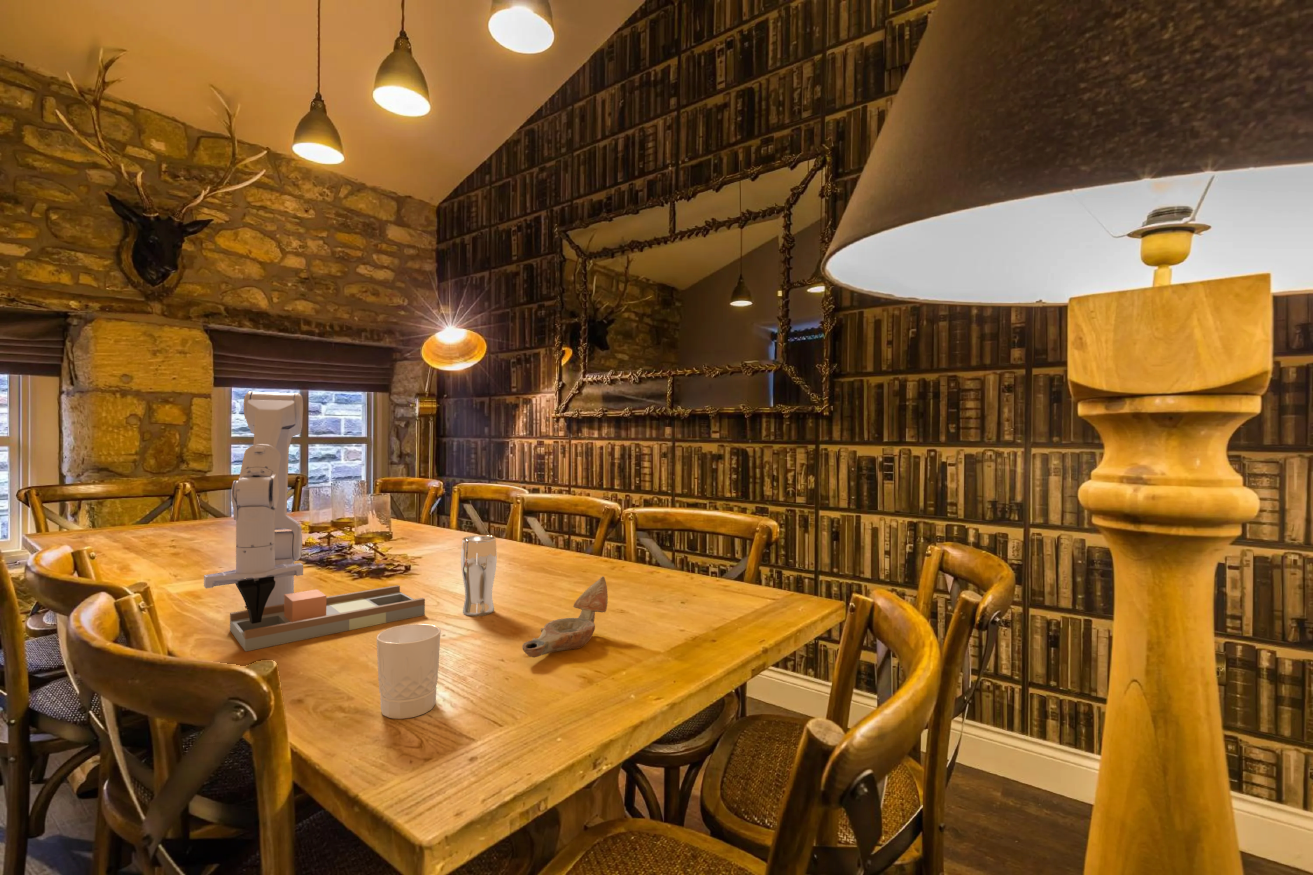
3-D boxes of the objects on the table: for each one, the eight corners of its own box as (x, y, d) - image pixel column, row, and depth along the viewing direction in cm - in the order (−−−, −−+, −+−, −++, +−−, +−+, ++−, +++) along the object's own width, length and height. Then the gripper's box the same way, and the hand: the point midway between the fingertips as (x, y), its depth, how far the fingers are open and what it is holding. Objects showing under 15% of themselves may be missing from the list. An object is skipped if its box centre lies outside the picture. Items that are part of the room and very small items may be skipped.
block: (284, 615, 113) (284, 594, 113) (317, 609, 117) (317, 589, 117) (292, 623, 109) (292, 601, 109) (326, 617, 113) (326, 595, 113)
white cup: (388, 695, 85) (388, 623, 85) (446, 693, 86) (447, 623, 86) (366, 722, 77) (367, 643, 77) (430, 720, 78) (431, 642, 78)
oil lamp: (622, 633, 112) (622, 579, 112) (545, 673, 94) (545, 608, 94) (584, 625, 116) (584, 573, 116) (503, 661, 98) (504, 599, 98)
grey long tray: (229, 630, 111) (230, 612, 111) (397, 599, 132) (398, 585, 132) (245, 651, 101) (245, 632, 101) (424, 614, 121) (424, 598, 121)
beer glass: (486, 618, 120) (486, 541, 120) (453, 615, 121) (454, 540, 121) (502, 607, 127) (502, 535, 127) (471, 605, 128) (471, 534, 128)
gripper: (208, 553, 100) (208, 636, 100) (307, 543, 110) (307, 618, 110) (202, 547, 105) (202, 626, 105) (297, 537, 115) (297, 609, 115)
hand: (255, 621), depth 108 cm, fingers closed
